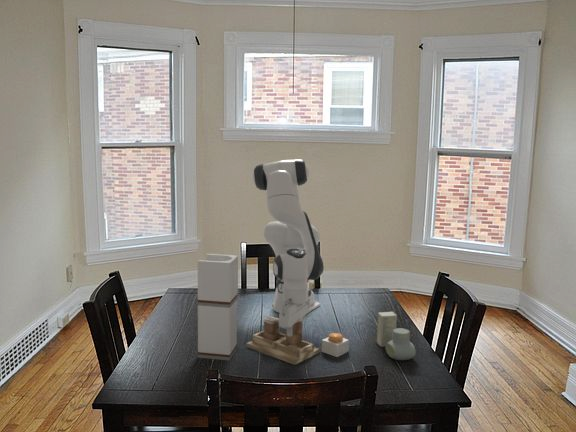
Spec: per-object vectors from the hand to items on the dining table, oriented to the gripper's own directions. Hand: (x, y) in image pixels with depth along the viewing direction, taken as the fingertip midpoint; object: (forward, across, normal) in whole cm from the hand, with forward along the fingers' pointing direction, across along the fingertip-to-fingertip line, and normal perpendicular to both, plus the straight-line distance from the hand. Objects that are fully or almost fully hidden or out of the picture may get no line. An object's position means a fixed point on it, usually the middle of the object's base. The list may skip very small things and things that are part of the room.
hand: (293, 332), depth 205 cm
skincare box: (+8, +24, -28) cm, 38 cm away
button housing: (+8, +9, -13) cm, 18 cm away
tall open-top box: (+8, -11, +25) cm, 28 cm away
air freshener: (+8, +15, -35) cm, 39 cm away
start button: (+5, +9, -13) cm, 16 cm away
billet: (+4, 0, 0) cm, 4 cm away
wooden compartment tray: (+8, +2, +5) cm, 10 cm away
